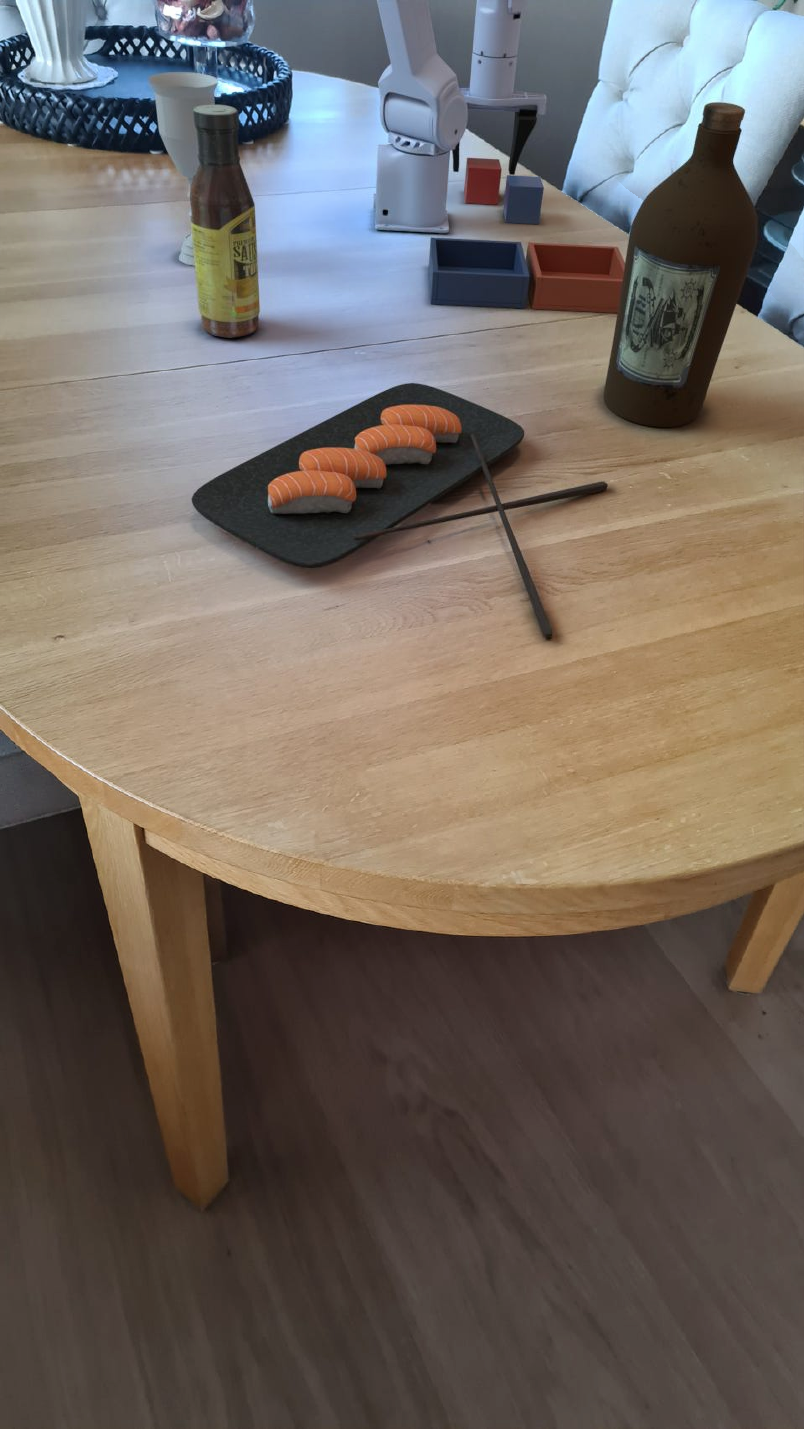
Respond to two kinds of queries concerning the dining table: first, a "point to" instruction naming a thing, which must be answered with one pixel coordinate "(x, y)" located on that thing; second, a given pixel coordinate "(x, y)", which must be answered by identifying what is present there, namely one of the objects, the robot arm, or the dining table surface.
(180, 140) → the chalice
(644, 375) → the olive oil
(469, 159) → the red block
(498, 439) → the sushi plate
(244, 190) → the sauce bottle
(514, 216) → the blue block
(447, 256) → the blue bin
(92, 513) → the dining table surface
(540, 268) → the red bin
